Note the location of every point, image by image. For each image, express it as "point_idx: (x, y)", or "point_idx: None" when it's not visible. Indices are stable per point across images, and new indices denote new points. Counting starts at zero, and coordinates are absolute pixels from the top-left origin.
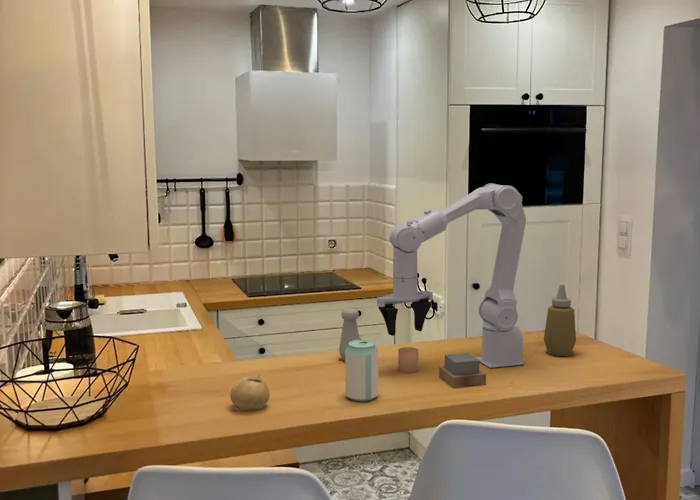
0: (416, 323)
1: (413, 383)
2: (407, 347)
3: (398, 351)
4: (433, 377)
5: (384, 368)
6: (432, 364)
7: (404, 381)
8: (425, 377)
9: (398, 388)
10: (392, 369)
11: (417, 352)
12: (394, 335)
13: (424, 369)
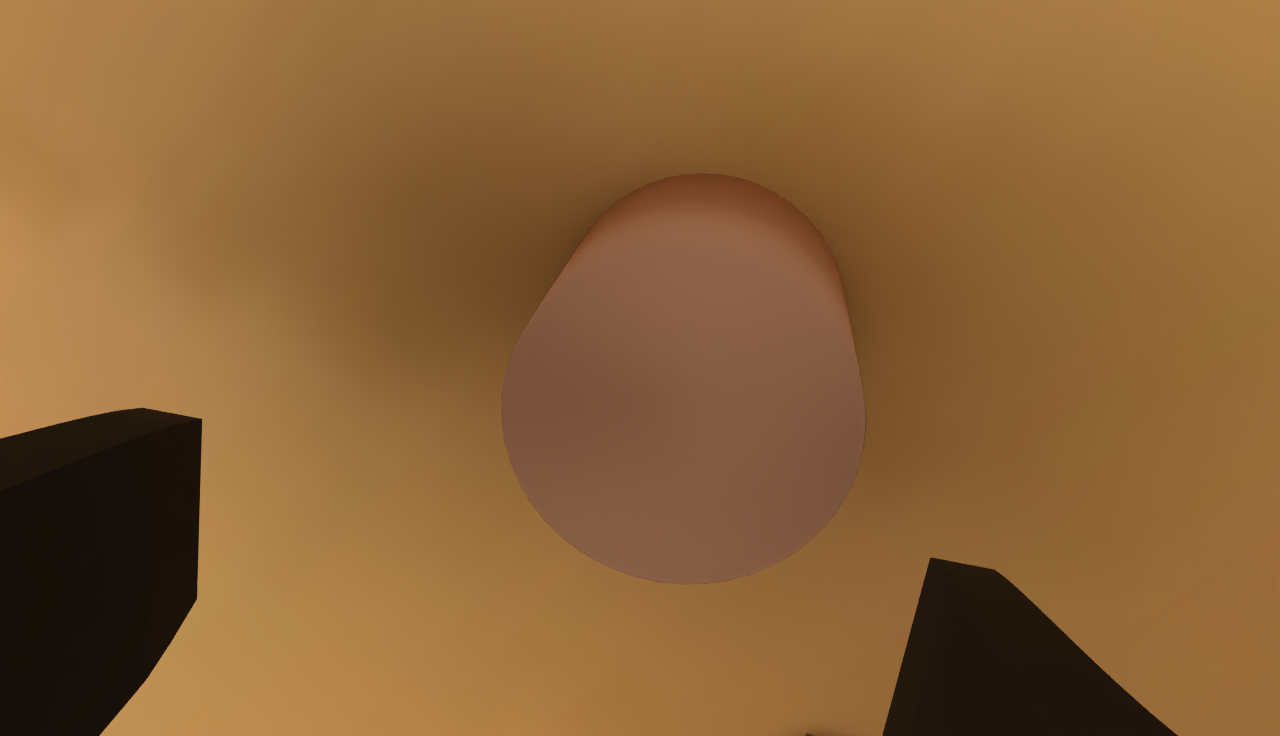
0: (944, 711)
1: (416, 686)
2: (785, 296)
3: (532, 316)
4: (746, 700)
5: (477, 41)
6: (1159, 357)
7: (373, 582)
8: (670, 643)
9: (183, 687)
10: (543, 153)
11: (747, 565)
12: (185, 596)
13: (894, 436)
